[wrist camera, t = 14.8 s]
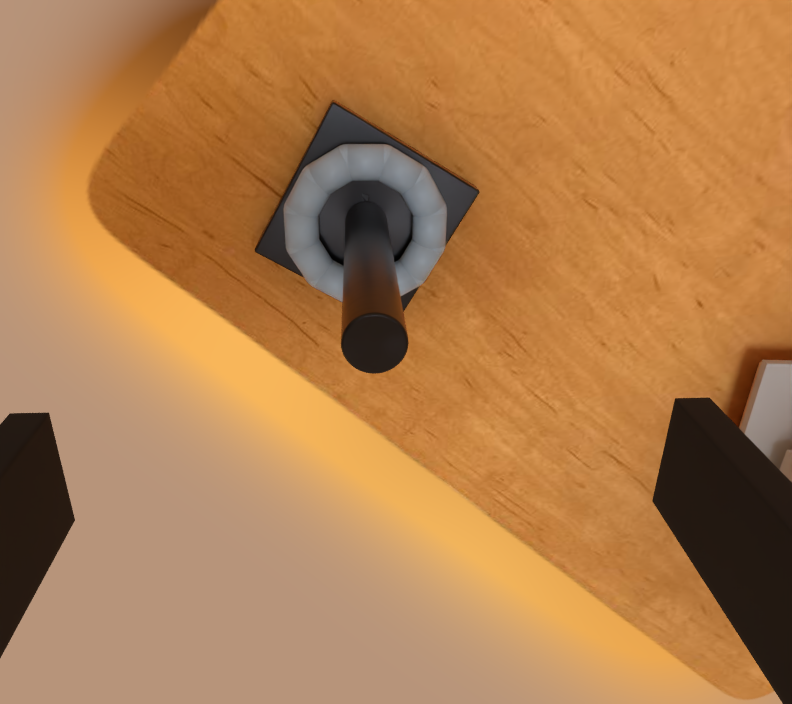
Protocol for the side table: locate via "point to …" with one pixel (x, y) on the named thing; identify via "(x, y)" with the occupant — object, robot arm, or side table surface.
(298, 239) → the ring
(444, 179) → the post
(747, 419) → the desk lamp
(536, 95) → the side table surface
